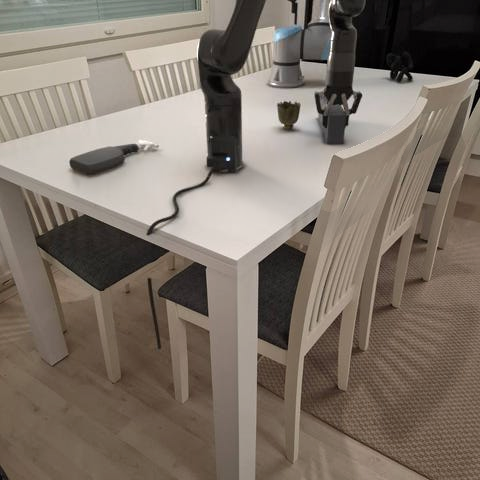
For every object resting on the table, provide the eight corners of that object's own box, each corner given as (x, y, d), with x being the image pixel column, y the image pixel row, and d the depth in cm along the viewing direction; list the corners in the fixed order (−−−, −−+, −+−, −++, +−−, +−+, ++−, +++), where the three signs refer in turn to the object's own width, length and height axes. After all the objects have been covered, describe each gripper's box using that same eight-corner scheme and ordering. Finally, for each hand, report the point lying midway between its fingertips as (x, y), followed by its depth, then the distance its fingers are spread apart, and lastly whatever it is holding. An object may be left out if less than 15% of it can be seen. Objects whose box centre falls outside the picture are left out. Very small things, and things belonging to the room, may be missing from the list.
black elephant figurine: (400, 92, 202) (376, 71, 205) (417, 76, 202) (392, 56, 205) (405, 81, 191) (380, 59, 194) (423, 64, 191) (397, 42, 194)
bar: (343, 144, 132) (346, 115, 128) (326, 144, 133) (329, 115, 128) (332, 118, 154) (334, 92, 149) (318, 118, 154) (320, 93, 150)
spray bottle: (67, 168, 120) (139, 144, 136) (91, 178, 114) (163, 151, 130) (65, 157, 118) (137, 134, 134) (89, 167, 112) (162, 142, 128)
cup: (272, 130, 144) (273, 105, 139) (281, 123, 149) (282, 99, 145) (294, 133, 141) (295, 108, 136) (302, 126, 146) (304, 102, 142)
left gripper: (316, 70, 122) (311, 131, 131) (369, 70, 121) (361, 131, 130) (313, 65, 128) (309, 123, 137) (364, 64, 127) (356, 123, 136)
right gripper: (358, -51, 143) (350, 22, 155) (280, -50, 145) (278, 23, 156) (362, -52, 137) (354, 24, 148) (281, -50, 138) (279, 25, 150)
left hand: (334, 127), depth 133 cm, fingers closed on bar, 5 cm apart
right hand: (315, 24), depth 152 cm, fingers open, 13 cm apart
